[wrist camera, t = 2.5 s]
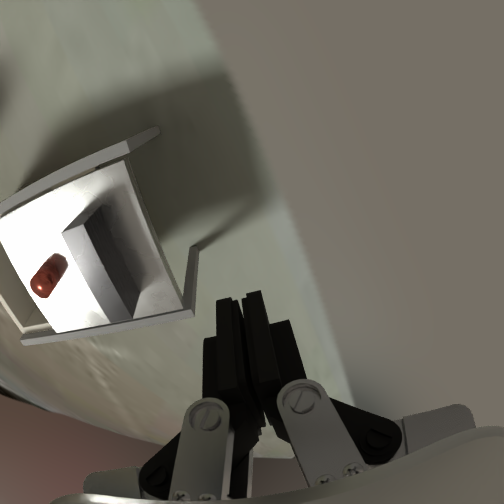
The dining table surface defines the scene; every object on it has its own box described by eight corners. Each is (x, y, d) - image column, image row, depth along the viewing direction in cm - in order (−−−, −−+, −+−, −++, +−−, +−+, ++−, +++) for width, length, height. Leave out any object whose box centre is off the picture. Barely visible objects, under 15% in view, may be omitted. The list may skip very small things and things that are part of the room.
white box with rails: (-1, 200, 24) (-52, 240, 15) (158, 125, 23) (125, 140, 15) (46, 293, 30) (14, 346, 22) (199, 252, 30) (194, 316, 22)
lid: (-1, 218, 16) (-28, 240, 13) (128, 156, 16) (107, 171, 13) (60, 325, 22) (46, 354, 19) (184, 300, 22) (180, 335, 19)
